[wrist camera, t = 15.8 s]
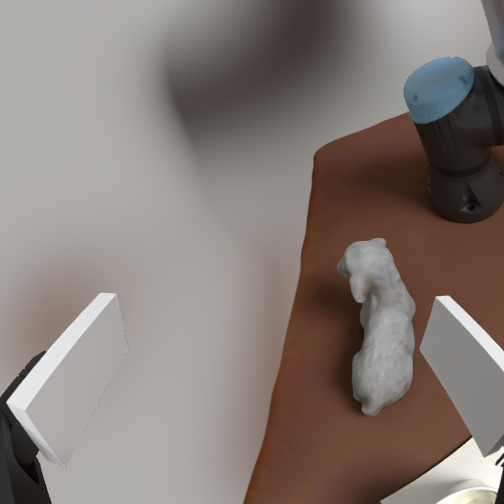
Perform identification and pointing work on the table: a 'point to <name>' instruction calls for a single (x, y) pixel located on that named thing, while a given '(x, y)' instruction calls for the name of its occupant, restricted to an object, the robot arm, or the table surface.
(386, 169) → the table surface
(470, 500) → the candle holder
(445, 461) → the tile
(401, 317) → the sculpture
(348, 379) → the table surface
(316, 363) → the table surface
